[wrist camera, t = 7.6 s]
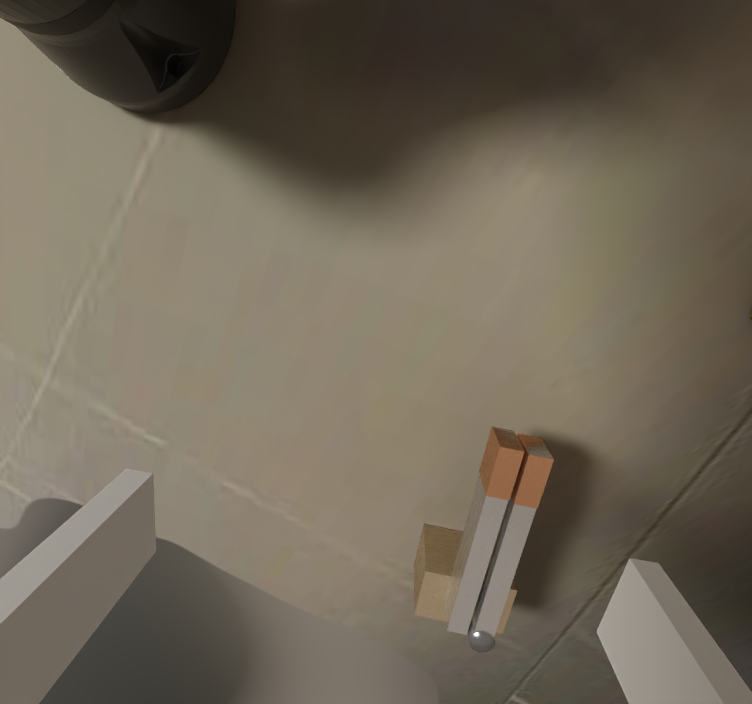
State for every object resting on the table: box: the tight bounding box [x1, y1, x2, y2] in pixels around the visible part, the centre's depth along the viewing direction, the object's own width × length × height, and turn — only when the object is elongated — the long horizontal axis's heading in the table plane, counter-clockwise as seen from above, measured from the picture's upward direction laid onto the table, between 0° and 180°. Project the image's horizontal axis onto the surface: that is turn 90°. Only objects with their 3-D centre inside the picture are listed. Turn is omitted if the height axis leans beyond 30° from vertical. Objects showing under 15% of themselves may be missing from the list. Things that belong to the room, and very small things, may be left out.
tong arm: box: [468, 434, 554, 652], centre depth 31 cm, size 18×2×3 cm, turn 171°
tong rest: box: [414, 427, 524, 635], centre depth 35 cm, size 20×8×9 cm, turn 170°
